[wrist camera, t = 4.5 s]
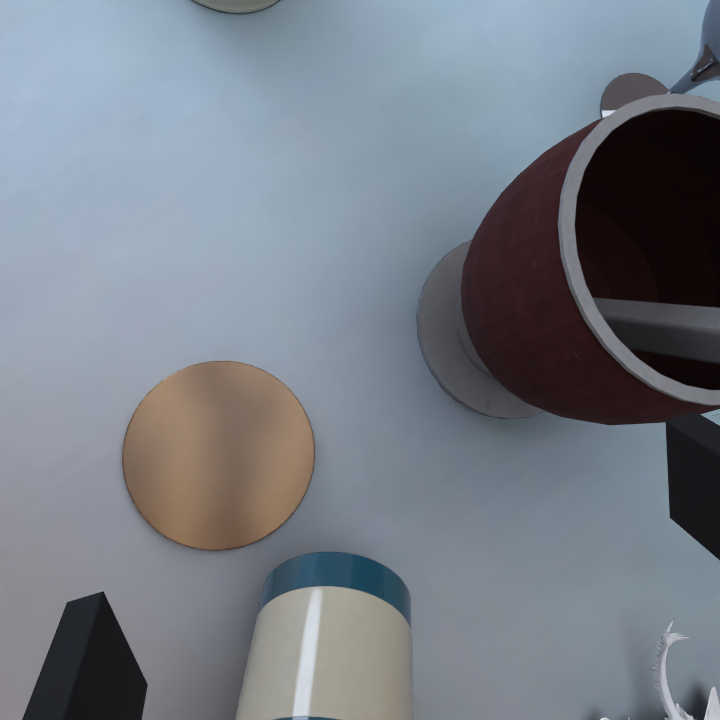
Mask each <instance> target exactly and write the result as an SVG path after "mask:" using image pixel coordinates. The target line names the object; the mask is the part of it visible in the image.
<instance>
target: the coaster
mask: <svg viewBox="0 0 720 720" xmlns="http://www.w3.org/2000/svg"><path fill="white" fill-rule="evenodd" d="M314 458H315V449H314V438H313V432H312V429H311V425H310V422H309V419H308V417H307V415H306V412H305V410H304V409H303V407H302V405H301V404H300V402H299V400H298V399H297V398H296V396H295V395H294V394H293V393H292V391H291V390H290V389H289V388H288V387H286V386H285V385H284V384H283V383H282V382H281V381H280V380H278V379H277V378H276V377H274V376H273V375H271V374H269V373H267V372H266V371H264V370H262V369H259V368H257V367H254V366H252V365H248V364H244V363H240V362H232V361H211V362H204V363H199V364H196V365H192V366H189V367H186V368H184V369H182V370H179V371H177V372H175V373H174V374H172V375H170V376H168V377H167V378H165V379H164V380H163V381H161V382H160V383H159V384H157V385H156V386H155V387H154V388H153V389H152V390H151V391H150V392H149V393H148V394H147V395H146V397H145V398H144V399H143V400H142V402H141V403H140V404H139V406H138V408H137V409H136V411H135V413H134V414H133V416H132V419H131V421H130V423H129V425H128V428H127V432H126V435H125V439H124V445H123V459H122V465H123V473H124V479H125V482H126V486H127V490H128V492H129V494H130V497H131V499H132V501H133V503H134V504H135V506H136V508H137V509H138V511H139V512H140V514H141V515H142V516H143V517H144V519H145V520H146V521H147V522H148V523H149V524H150V525H151V526H152V527H153V528H155V529H156V530H157V531H158V532H160V533H161V534H163V535H164V536H165V537H167V538H169V539H171V540H173V541H175V542H177V543H179V544H182V545H185V546H188V547H191V548H196V549H201V550H214V551H218V550H230V549H235V548H239V547H243V546H246V545H249V544H252V543H254V542H256V541H258V540H260V539H262V538H264V537H266V536H268V535H269V534H271V533H272V532H274V531H275V530H276V529H278V528H279V527H280V526H281V525H282V524H283V523H284V522H286V520H287V519H288V518H289V517H290V516H291V515H292V514H293V513H294V511H295V510H296V508H297V507H298V505H299V504H300V503H301V501H302V499H303V497H304V495H305V493H306V491H307V488H308V486H309V483H310V480H311V476H312V472H313V468H314Z"/></svg>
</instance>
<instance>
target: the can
mask: <svg viewBox="0 0 720 720" xmlns="http://www.w3.org/2000/svg"><path fill="white" fill-rule="evenodd" d="M194 1H196V2H198V3H200V4H202V5H204V6H206V7H209V8H211V9H214V10H218V11H223V12H228V13H249V12H255V11H259V10H262V9H265V8H267V7H269V6H271V5H273V4H274V3H276V2H277V1H279V0H194Z"/></svg>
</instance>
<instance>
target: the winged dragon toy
mask: <svg viewBox="0 0 720 720" xmlns="http://www.w3.org/2000/svg"><path fill="white" fill-rule="evenodd" d="M672 623H673V621H672ZM672 623H671V624H670V626H669V627H667V628H668V629H667V630H666V632H665V634H664V636H663V637H661V638H662V639H663V642H664V643H661V642H659V641H658V644H660V645H661V646H660V647H658V646H656V647H657V648H658V649H660V650H661V651H660V653H656V654H657V655H658V656H659V657H658V656H656V657H655V658H656V659H657V660H656V661H657V662H658V663H659V664H657V663H654V665H655V666H656V667H653V669H652V670H653V671H655V672H656V673H657V674H658V675H655V677H653V678H654V679H655V680H656V681H657V682H659V683H654V682H653V683H654V684H656V685H657V686H658V687H654V688H655V689H657V690H658V691H659V692H660V693H657V694H658V695H659V696H660V698H659V699H660V700H661V702H662V703H663V704H664V705H663V707H664V708H665V709H666V710H664V711H665V712H666V713H667V715H668V716H669V717H668V718H664V719H665V720H694V718H693V717H692V716H689V715H688V714H687V713H686V712H685V711H684V712H683V709H682V707H681V709H680V707H679V705H678V703H676V706H675V705H674V703H673V701H672V698H671V695H670V692H669V688H668V685H667V680H666V670H665V663H666V655H667V650H668V647H669V645H671V644H673V642H674V643H675V641H677V640H680V639H686V638H692V637H677V636H685V635H678V633H670V631H669V630H670V627H671V625H672ZM675 634H677V635H675ZM656 643H657V642H656ZM662 646H663V647H662ZM650 669H651V668H650ZM600 720H609V719H607V718H602V719H600ZM628 720H630V718H629V717H628ZM695 720H696V719H695ZM704 720H720V704H719V700H718V696H717V692H716V688H715V687H713V688H712V690H711V693H710V697H709V701H708V705H707V710H706V714H705V718H704Z"/></svg>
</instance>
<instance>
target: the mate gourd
mask: <svg viewBox="0 0 720 720" xmlns="http://www.w3.org/2000/svg"><path fill="white" fill-rule="evenodd" d="M417 331H418V339H419V343H420V347H421V350H422V354H423V356H424V359H425V361H426V363H427V365H428V367H429V369H430V371H431V373H432V374H433V376H434V377H435V379H436V380H437V381H438V383H439V384H440V386H441V387H442V388H443V389H444V390H445V391H446V392H447V393H448V394H449V395H450V396H451V397H452V398H453V399H455V400H456V401H458V402H459V403H461V404H462V405H464V406H465V407H467V408H468V409H470V410H473V411H475V412H478V413H480V414H483V415H485V416H490V417H496V418H501V419H509V418H525V417H529V416H532V415H536V414H540V413H542V412H544V411H547V412H550V413H552V414H555V415H558V416H560V417H565V418H571V419H577V420H582V421H588V422H594V423H600V424H606V425H624V424H644V423H662V422H666V421H667V420H670V419H674V418H677V417H680V416H684V415H687V414H690V413H694V412H696V413H698V414H703V413H707V412H710V411H714V410H717V409H720V103H718V102H715V101H712V100H709V99H706V98H703V97H700V96H693V95H684V94H675V93H672V94H663V95H654V96H647V97H645V98H642V99H639V100H636V101H634V102H631V103H628V104H625V105H624V106H622V107H621V108H619V109H618V110H616V111H615V112H613V113H612V114H610V115H609V116H607V117H604V118H602V119H599V120H597V121H595V122H593V123H591V124H590V125H588V126H586V127H584V128H583V129H581V130H579V131H577V132H576V133H574V134H572V135H570V136H569V137H567V138H565V139H564V140H562V141H561V142H559V143H558V144H556V145H555V146H553V147H552V148H550V149H549V150H547V151H546V152H544V153H543V154H542V155H541V156H540V157H539V158H537V159H536V160H535V161H534V162H533V163H532V164H531V165H529V166H528V167H527V168H526V169H525V170H524V171H523V172H521V173H520V174H519V175H518V176H517V177H516V178H515V179H514V180H513V181H512V182H511V184H510V185H509V186H508V187H507V188H506V189H505V190H504V191H503V192H502V193H501V195H500V196H499V197H498V199H497V200H496V202H495V203H494V204H493V206H492V207H491V209H490V210H489V211H488V213H487V214H486V216H485V218H484V219H483V221H482V223H481V225H480V226H479V228H478V230H477V231H476V233H475V235H474V238H473V239H472V240H470V241H467V242H465V243H462V244H461V245H459V246H458V247H456V248H455V249H454V250H452V251H451V252H449V253H448V254H447V255H445V256H444V257H443V258H442V259H441V261H440V262H439V263H438V264H437V265H436V266H435V267H434V268H433V270H432V271H431V273H430V275H429V276H428V278H427V280H426V282H425V284H424V286H423V289H422V292H421V295H420V298H419V304H418V311H417Z"/></svg>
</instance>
